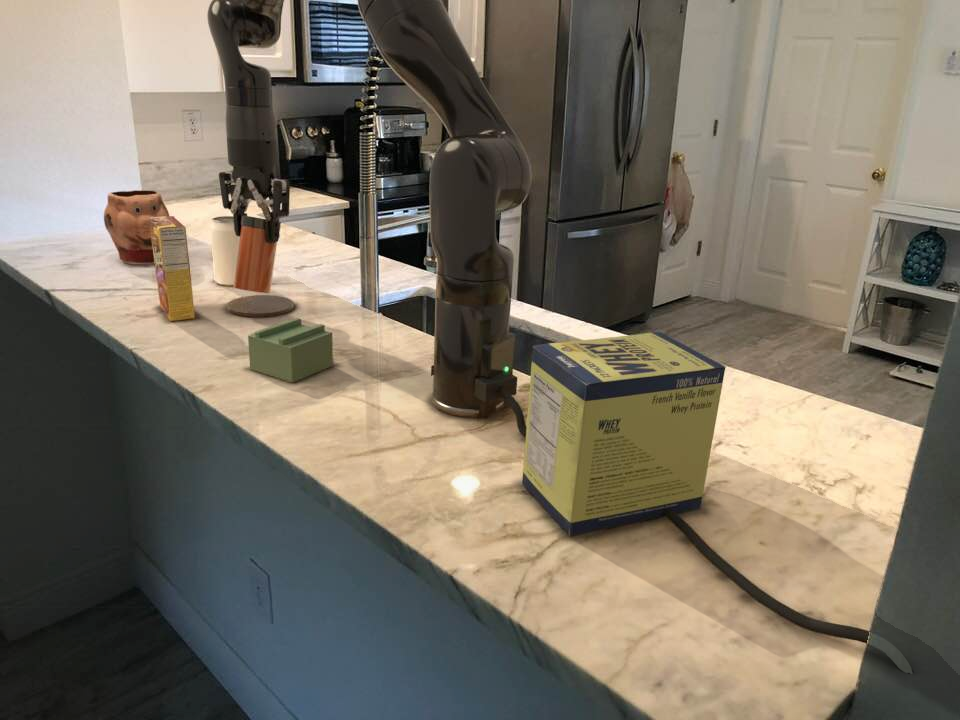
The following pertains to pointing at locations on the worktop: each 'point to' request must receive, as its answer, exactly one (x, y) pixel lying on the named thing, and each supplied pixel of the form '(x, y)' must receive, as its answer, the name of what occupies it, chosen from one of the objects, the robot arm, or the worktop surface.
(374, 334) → the worktop surface
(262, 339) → the stand
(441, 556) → the worktop surface
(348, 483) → the worktop surface
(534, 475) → the protein box
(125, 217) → the decorative planter
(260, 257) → the jar
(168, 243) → the candy box
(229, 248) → the can
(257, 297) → the coaster
